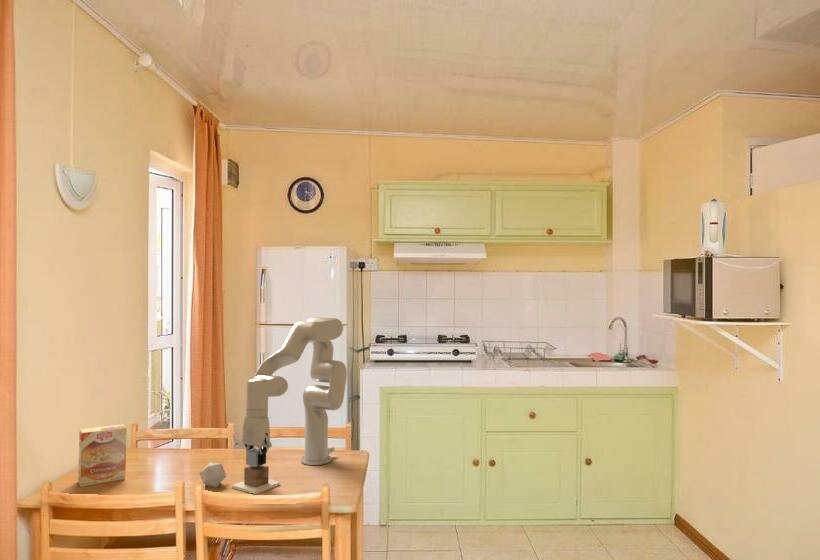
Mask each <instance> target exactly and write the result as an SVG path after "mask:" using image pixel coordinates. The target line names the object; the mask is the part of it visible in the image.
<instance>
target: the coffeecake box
mask: <svg viewBox="0 0 820 560" xmlns="http://www.w3.org/2000/svg"><path fill="white" fill-rule="evenodd" d="M78 433H79V440H78V441H79V444H78V445H79V446H78V475H77V478H78V479H77V481H78V484H79V487H80V488H81V487H87V486H92V485H98V484H105V483H109V482H116V481H121V480H126V472H127V471H126V464H127V462H126V461H127V460H126V459H127V426H126V425H125V424H124V423H123V424H114V425H107V426H106V425H103V426H96V427H89V428H80V429H79V432H78Z"/></svg>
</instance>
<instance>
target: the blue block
mask: <svg viewBox="0 0 820 560" xmlns="http://www.w3.org/2000/svg"><path fill="white" fill-rule="evenodd" d="M245 451H246V450H245ZM258 454H259V449H258V447H254V449H250V450H247V451H246V452H245V465H247V466H254V467H257V466H260V465H258ZM265 464H267V462H266V463H265ZM265 464H264V465H265Z"/></svg>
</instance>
